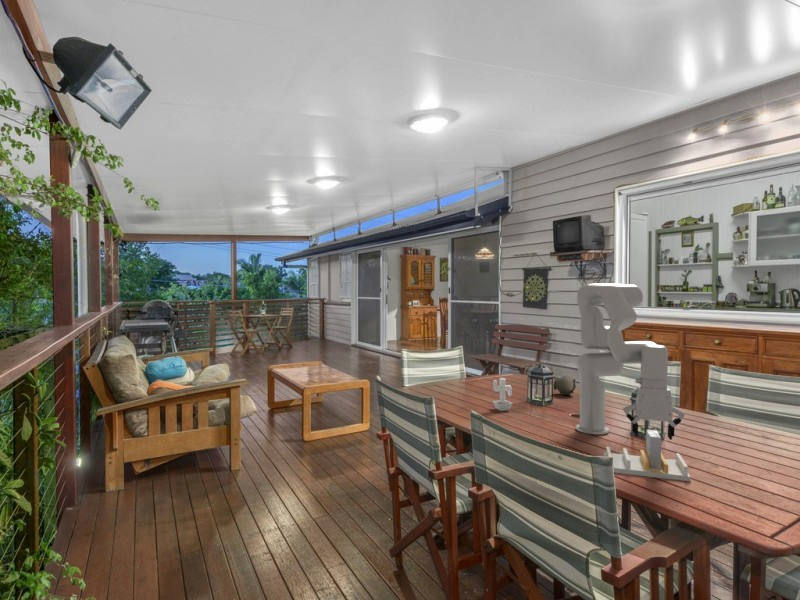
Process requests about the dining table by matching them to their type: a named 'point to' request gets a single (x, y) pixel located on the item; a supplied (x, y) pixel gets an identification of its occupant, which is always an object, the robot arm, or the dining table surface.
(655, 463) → the panel
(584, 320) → the robot arm
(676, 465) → the rack
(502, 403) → the figurine
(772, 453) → the dining table surface
